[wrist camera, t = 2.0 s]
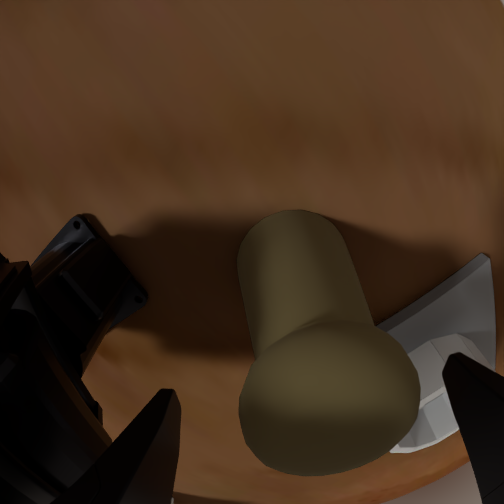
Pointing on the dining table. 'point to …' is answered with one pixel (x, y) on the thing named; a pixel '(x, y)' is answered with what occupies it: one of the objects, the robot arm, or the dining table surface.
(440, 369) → the cup stand
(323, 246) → the cork
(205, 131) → the dining table surface
